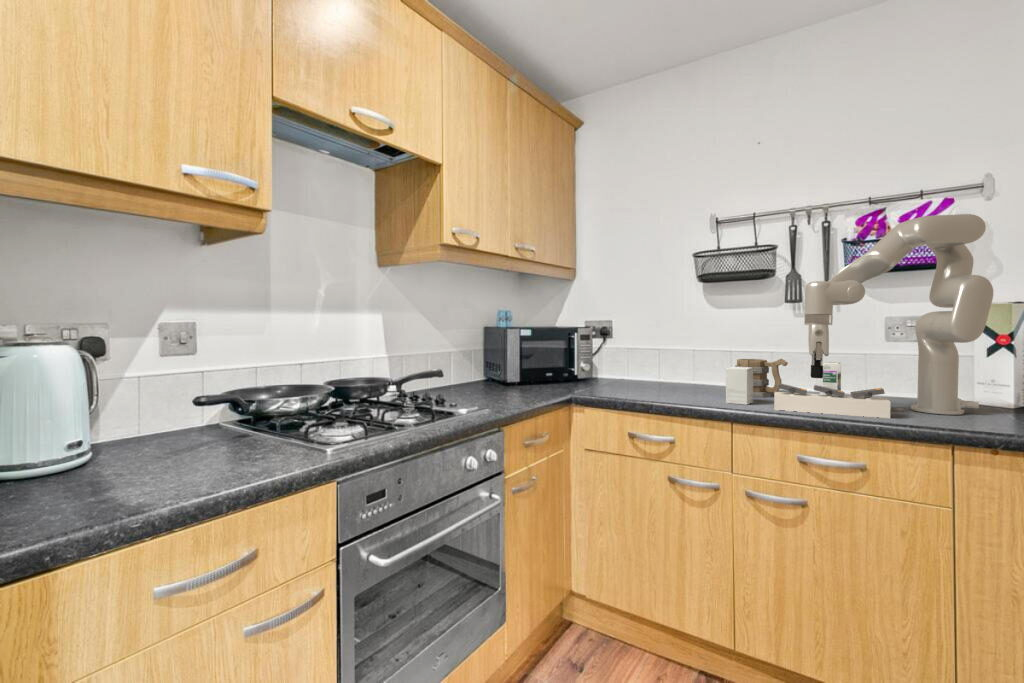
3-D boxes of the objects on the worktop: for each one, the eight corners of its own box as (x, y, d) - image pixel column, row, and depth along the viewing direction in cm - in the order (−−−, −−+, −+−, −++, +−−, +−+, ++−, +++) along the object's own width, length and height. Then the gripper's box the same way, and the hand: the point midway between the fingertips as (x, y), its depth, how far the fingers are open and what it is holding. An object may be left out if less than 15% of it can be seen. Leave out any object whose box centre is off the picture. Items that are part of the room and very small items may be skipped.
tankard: (726, 394, 192) (727, 356, 191) (746, 391, 198) (747, 355, 197) (775, 401, 174) (775, 359, 174) (795, 398, 181) (796, 358, 180)
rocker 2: (841, 397, 152) (843, 391, 151) (843, 399, 148) (845, 392, 148) (812, 390, 155) (814, 384, 155) (813, 392, 152) (815, 385, 152)
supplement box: (753, 402, 171) (754, 367, 170) (747, 405, 165) (747, 368, 165) (732, 400, 176) (732, 366, 175) (724, 403, 170) (725, 367, 170)
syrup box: (821, 404, 167) (821, 362, 167) (819, 401, 172) (819, 361, 172) (840, 405, 164) (841, 363, 164) (838, 402, 170) (839, 361, 169)
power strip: (901, 415, 146) (901, 397, 146) (907, 419, 139) (907, 401, 139) (774, 406, 163) (774, 390, 162) (774, 410, 156) (774, 393, 156)
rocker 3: (883, 394, 146) (881, 387, 147) (885, 395, 143) (883, 388, 143) (851, 398, 150) (850, 391, 150) (853, 400, 147) (851, 393, 147)
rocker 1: (804, 395, 156) (806, 389, 156) (805, 397, 153) (807, 390, 153) (777, 388, 160) (779, 382, 160) (777, 390, 157) (779, 383, 157)
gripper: (834, 320, 144) (833, 381, 145) (830, 320, 157) (828, 376, 158) (805, 320, 148) (804, 379, 148) (803, 320, 161) (801, 375, 161)
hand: (816, 377), depth 153 cm, fingers closed
